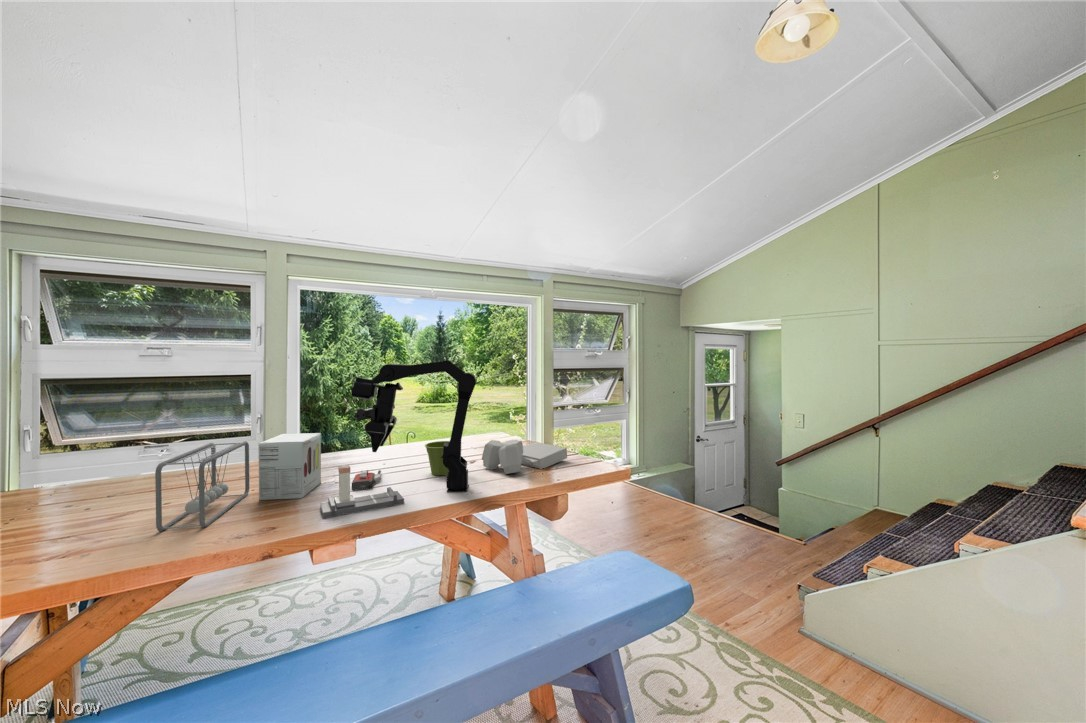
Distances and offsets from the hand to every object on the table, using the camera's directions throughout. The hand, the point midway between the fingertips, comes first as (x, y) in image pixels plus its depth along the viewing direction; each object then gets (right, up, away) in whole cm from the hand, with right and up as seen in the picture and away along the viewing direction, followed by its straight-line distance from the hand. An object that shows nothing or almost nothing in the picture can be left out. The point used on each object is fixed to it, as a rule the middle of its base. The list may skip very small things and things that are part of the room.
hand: (377, 449), depth 140 cm
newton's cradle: (-43, -15, -16) cm, 48 cm away
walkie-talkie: (-9, -15, +13) cm, 22 cm away
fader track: (0, -15, -12) cm, 19 cm away
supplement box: (-29, -15, +2) cm, 33 cm away
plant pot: (+15, -14, +24) cm, 31 cm away
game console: (+47, -14, +36) cm, 60 cm away
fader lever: (-4, -13, -14) cm, 20 cm away
